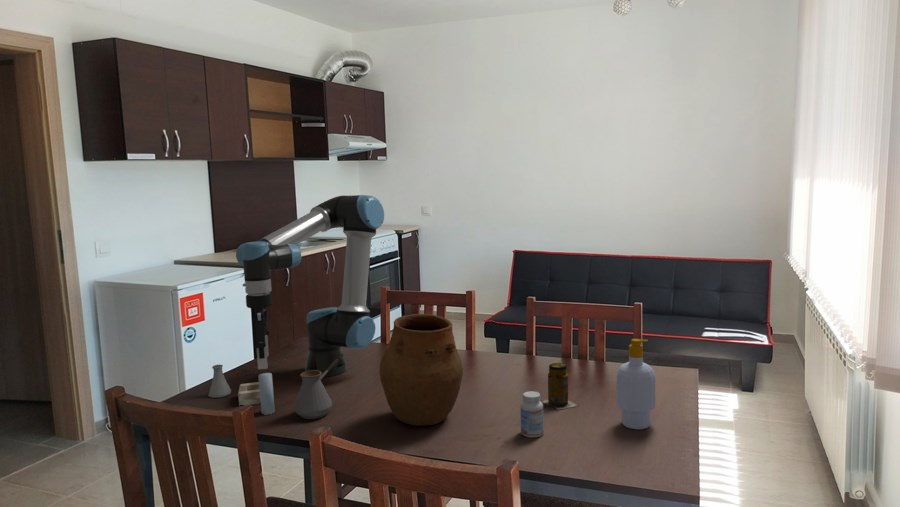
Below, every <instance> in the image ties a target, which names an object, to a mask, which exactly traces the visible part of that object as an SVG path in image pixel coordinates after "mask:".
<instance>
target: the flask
mask: <svg viewBox="0 0 900 507" xmlns="http://www.w3.org/2000/svg"><path fill="white" fill-rule="evenodd" d="M223 366H224V365H223V364H214V365H213V366H212V367H211V369H213V375H212V376H213V377H212V381H211V385H210V388H209V392H208V397H209V398H214V399H215V398H224V397H226V396H229V395H231V393H232V389H231V388H230V386H229V384H228V382H227V380H226V377H225V375H224V372H223Z"/></svg>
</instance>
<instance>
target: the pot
mask: <svg viewBox="0 0 900 507" xmlns="http://www.w3.org/2000/svg"><path fill="white" fill-rule="evenodd" d="M392 329H393V330H392V332H391V336H390V340H389V342H388V347H387V348H386V349H385V351H384V353H383V355H382V357H381V359H380V362H379V363H380V364H379V378H380V383H381V386H382V389H383V392H384V395H385V398H386V402H387V405H388V406H389V408H390V411H391V412H392V414H393V416H394V417H395V418H396V420H398V421H399V422H402V423H404V424H407V425H411V426H415V427H416V426H417V427H426V426H432V425H434V426H435V425H438V424H439V423H441V422H443V421H444V420H446V419H447V417H448V416H449V415H450V413H451V411H452V410H453V408H454V406H455V404H456V402H457V398H458V396H459V393H460V389H461V386H462V380H463V376H464V368H463V361H462V357H461V356H460V354H459V352H458V349H457V345H456V341H455V335H454V333H453V323H452V321H451V320H449V319H447V318H445V317H443V316H439V315H437V314H430V313H414V314H408V315H401V316H399V317H396V319H394V320H393V328H392Z"/></svg>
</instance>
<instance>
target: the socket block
mask: <svg viewBox="0 0 900 507" xmlns="http://www.w3.org/2000/svg"><path fill="white" fill-rule="evenodd" d="M237 396H238V397H237V398H238V406H239V407H241V406H240V405H245V406H252V405H259V404H260V391H259V381H257V382H256V381H255V382H247V383H240V384H239V389H238V394H237ZM260 405H261V404H260Z"/></svg>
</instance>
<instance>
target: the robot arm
mask: <svg viewBox="0 0 900 507" xmlns="http://www.w3.org/2000/svg"><path fill="white" fill-rule="evenodd" d="M384 220H385V211H384V207H383V205H382V203H381V202H380V200H379V199H378V198H377V197H376V196H373V195H366V194H358V195H353V194H352V195H337V196H334V197H332V198H330V199H328V200H325V201H324V202H322V203H319V204H317V205H316V206H314V207H312V208H311V209H310V210H309V212H308V213H306V214H305V215H303V216H301V217H299V218H296V219H295V220H294V221H291V222H290V223H288V224H286V225H284V226H282V227H281V228H279V229H277V230H275V231H273V232H271V233H269V234H267V235H266V236H264V237H262V238H260V239H258V240H256V241H250V242H245V243H242V244H240V245H239V246H238V247H237V249H236V251H235V257H236V262H238V264H239V265H240V266H243V267H242V269H243V276H244V277H243V278H244V283H242V287H245V293H246V295H245V304H246V307H247V308H248V309H254V310H255V311H254V312H253V314H252V318H253V327H254V328H255V344H254V345H253V349H256V357H257V358H256V359H257V360H256V361H257V370H266V369H268V368H269V367H268V365H269V364H268V357H269V355H270V354H269V343H268V336H269V335H270V331H268V328H267V322H268V320H267V319H268V311H267V310H266V309H265V308H269V307H271V306H272V305H273V296H272V295H273V294H272V293H271V292H272V278H271V272H273V271H274V272H275V271H279V270H286V269H292V268H295V267H297V266H299V265H300V263H301V261H302V251H301V249H300V247H299V246H298V245H299V244H300V243H302V242H304V241H306V240H309V239H310V238H311V237H313V236H315V235H316V234H318V233H320V232H322V233H325V232H327V231H329V230H331V229H337V228H340V229H341V228H342V232H343V234H344V235H345V237H346V246H345V258H344V261H345V262H344V269H343V270H344V271H343V280H342V281H343V282H342V283H343V284H342V295H341V296H342V297H341V304H340V305H339V306H338V307H336V306H334V307H333V306H331V307H325V308H319V309H314V310H311V311H309V312H308V313H307V314H306V324H305V325H306V337H307V345H308V346H307V347H308V353H307V357H306V362H305V365H304V372H305V371H311V370H318V371H321V372H322V374H323V373H324V372H325V371H326V370H327V368H328V367H329V366H330V365H331V364H332V363H333V361H335V360H336V359H337V357H339V356H340V355H341V354H344V353H343V351H342V348H348V349H352V350H354V349H355V350H361V349H364V348H366V347H367V346H369V345H370V343H371V342H372V341H373V340H374V336H375V334H376V323H375V320H374V319H373V318H372V317H370V314H371V313H370V312H371V311H370V309H369V308H368V307H367V297H368V286H369V284H368V283H369V272H370V262H371V261H370V258H371V247H372V245H371V244H372V238H374V237H375V236H376V235H377V229H379V228H380V227H381V226H382V224H383V223H384ZM343 358H345V354H344V355H343ZM343 358H342V357H341V360H339V361H338V362H337V364H336V365H335V366H334V367H333V368H332V369H331V370H330V371H329V372H327V373H326V375H325V376H324V377H325V378H326V377H332V376H337V375H341V374H343V373H345V372H346V371H347V369H348V365H347V364H348V363H347V361H346V359H343ZM322 374H321V375H322ZM324 377H323V378H324Z"/></svg>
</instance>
